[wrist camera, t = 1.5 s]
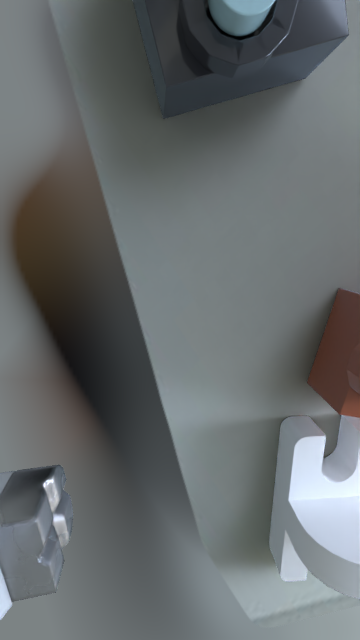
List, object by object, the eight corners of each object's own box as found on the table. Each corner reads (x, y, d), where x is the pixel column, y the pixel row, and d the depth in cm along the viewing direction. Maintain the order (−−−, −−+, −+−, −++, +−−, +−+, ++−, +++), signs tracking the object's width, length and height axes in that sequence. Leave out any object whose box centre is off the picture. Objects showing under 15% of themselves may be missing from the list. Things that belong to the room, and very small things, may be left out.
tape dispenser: (368, 413, 36) (457, 488, 25) (345, 546, 40) (412, 655, 30) (281, 416, 35) (336, 495, 24) (268, 551, 39) (309, 666, 29)
